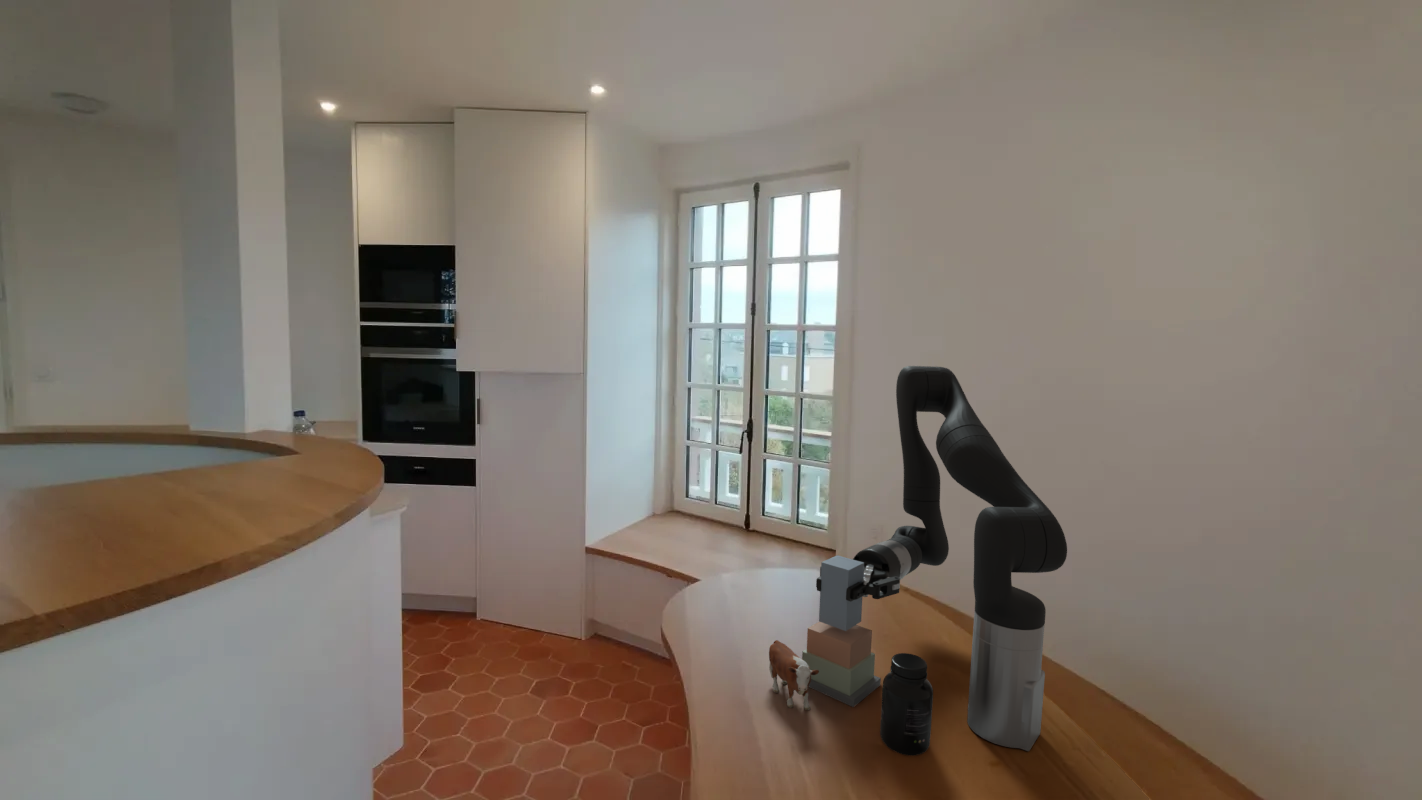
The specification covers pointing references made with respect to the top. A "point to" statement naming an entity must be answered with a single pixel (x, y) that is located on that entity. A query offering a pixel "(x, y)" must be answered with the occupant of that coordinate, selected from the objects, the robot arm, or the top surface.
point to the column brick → (840, 592)
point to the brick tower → (841, 662)
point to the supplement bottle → (906, 706)
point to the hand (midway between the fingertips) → (833, 590)
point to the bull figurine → (790, 672)
